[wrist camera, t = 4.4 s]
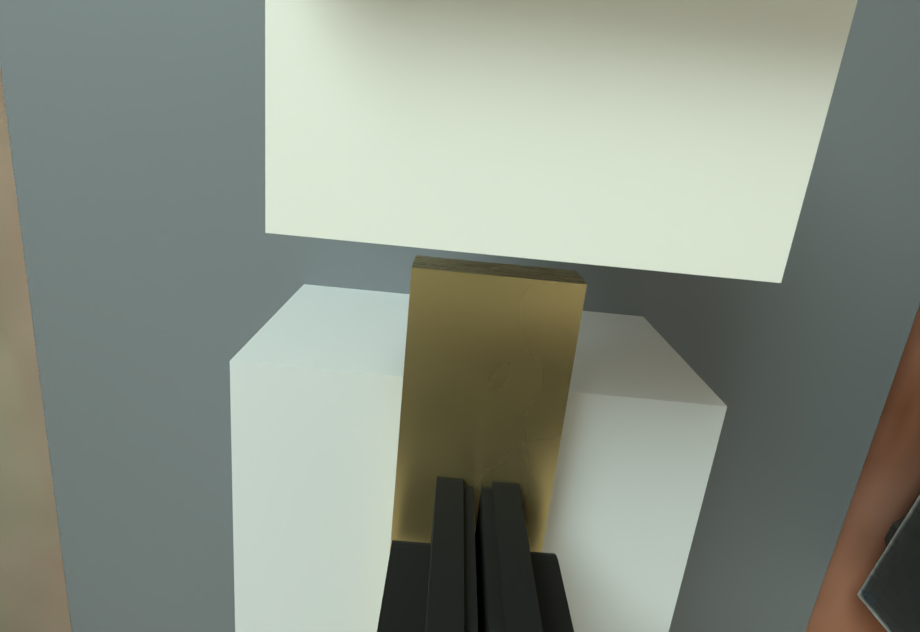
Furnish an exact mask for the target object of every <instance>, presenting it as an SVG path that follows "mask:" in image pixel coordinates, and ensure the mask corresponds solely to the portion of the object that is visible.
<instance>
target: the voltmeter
mask: <svg viewBox="0 0 920 632" xmlns="http://www.w3.org/2000/svg"><path fill="white" fill-rule="evenodd" d="M885 541H886V544H887V547H886V549H885V551H884V552H883V554H882V555H881V557H880V559H879V560H878V562H877V563H876V565H875V567H874V568H873V570H872V571H871V573H870V575H869V576H868V578H867V579H866V581H865V582H864V584H863V586H862V587H861V589H860V590H859V592H858V594H857V596H858V597H859V598H860V599H861V600H862V602H863V603H864V604H865V605H866V606H867V608H868V609H869V610H870V611H871V612H872V614H873V615H874V616H875V617H876V618H877V620H878V621H879V622H880V623H881V624H882V626H883V627H884V628H885V629H886V630H887V632H920V495H919V497H918V498H917V500H916V501H915V503H914V505H913V506H912V508H911V509H910V511H909V512H908V514H907V516H905V517H903V518H902V519H900V520H898V521H896V522H895V523H893V524H892V526H891V528H890V530H889V532H888V534H887V536H886V537H885Z"/></svg>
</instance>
